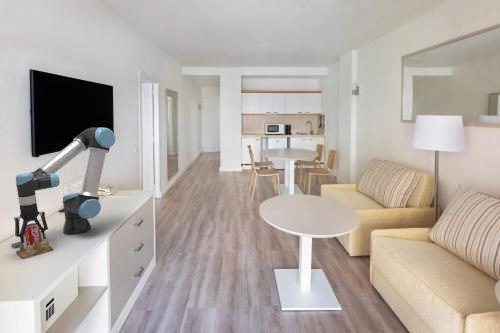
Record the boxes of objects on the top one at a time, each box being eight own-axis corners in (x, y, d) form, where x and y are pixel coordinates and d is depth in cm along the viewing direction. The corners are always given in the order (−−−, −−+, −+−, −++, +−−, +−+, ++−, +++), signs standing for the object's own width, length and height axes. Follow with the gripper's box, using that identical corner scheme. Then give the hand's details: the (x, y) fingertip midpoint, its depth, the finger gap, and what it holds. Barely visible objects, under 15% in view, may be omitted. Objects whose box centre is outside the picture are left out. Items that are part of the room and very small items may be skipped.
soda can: (44, 243, 183) (41, 222, 181) (38, 248, 176) (35, 226, 174) (29, 245, 181) (26, 223, 180) (23, 250, 175) (20, 227, 173)
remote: (15, 249, 184) (14, 245, 184) (11, 247, 187) (11, 243, 186) (46, 239, 198) (45, 235, 197) (42, 238, 200) (41, 234, 200)
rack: (45, 244, 188) (44, 235, 187) (53, 250, 180) (52, 240, 179) (16, 253, 178) (14, 243, 177) (23, 259, 170) (21, 248, 169)
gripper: (46, 198, 185) (52, 238, 188) (2, 206, 170) (9, 250, 174) (51, 200, 180) (57, 241, 183) (6, 209, 165) (13, 254, 169)
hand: (34, 245), depth 179 cm, fingers closed on soda can, 7 cm apart
